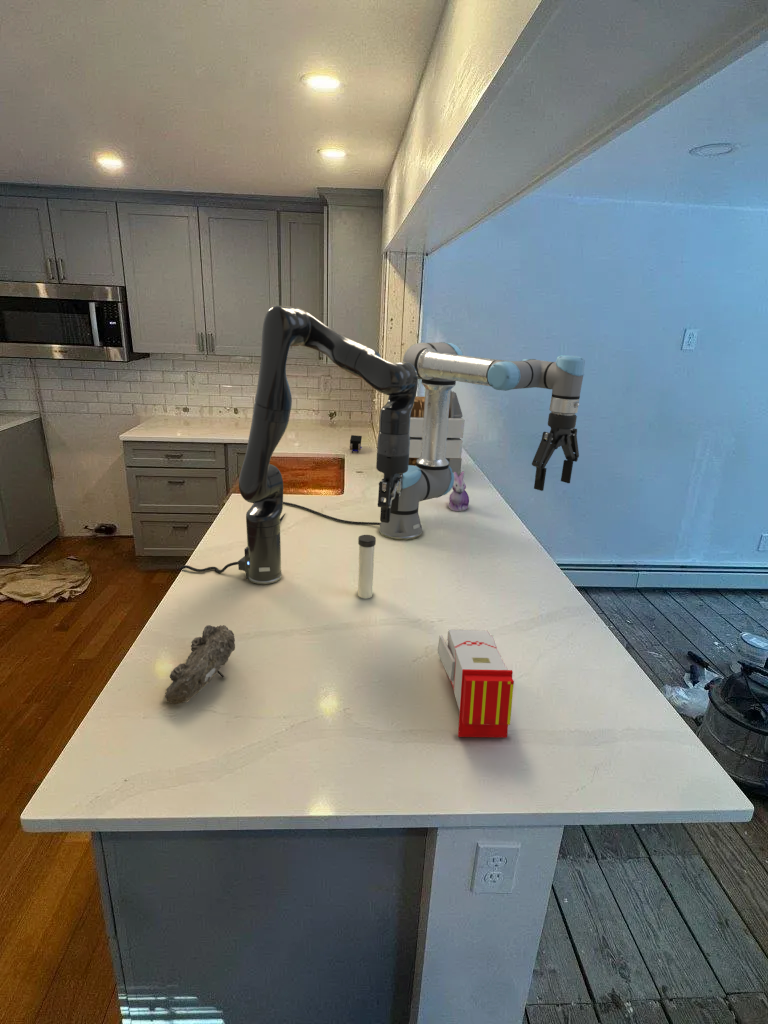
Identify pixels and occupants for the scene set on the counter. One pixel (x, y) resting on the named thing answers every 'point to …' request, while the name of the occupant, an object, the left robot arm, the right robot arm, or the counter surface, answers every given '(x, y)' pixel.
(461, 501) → the figurine
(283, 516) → the feather
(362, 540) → the lid
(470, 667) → the toy
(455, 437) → the white storage crate
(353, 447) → the figurine character
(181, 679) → the fossil
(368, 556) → the bottle
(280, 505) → the left robot arm
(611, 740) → the counter surface
